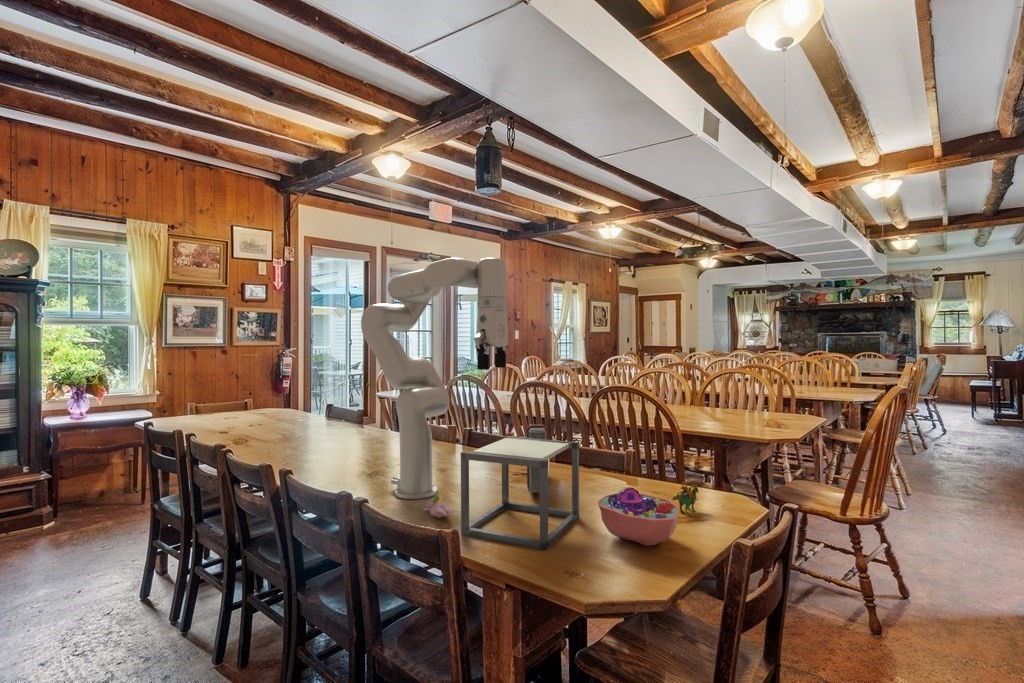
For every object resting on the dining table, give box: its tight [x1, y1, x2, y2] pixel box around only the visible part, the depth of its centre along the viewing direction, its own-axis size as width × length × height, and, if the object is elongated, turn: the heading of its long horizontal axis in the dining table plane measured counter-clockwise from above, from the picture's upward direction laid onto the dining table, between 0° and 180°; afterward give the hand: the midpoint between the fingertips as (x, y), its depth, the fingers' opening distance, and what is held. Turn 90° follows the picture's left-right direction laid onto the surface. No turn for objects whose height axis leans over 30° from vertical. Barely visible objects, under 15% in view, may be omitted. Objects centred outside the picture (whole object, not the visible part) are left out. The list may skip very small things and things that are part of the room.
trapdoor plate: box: [471, 438, 569, 461], centre depth 130 cm, size 18×19×1 cm
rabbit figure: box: [423, 493, 454, 519], centre depth 137 cm, size 6×6×15 cm
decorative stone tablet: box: [526, 424, 549, 493], centre depth 166 cm, size 19×6×30 cm
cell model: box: [597, 487, 680, 547], centre depth 121 cm, size 17×20×11 cm
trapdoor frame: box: [460, 435, 580, 551], centre depth 130 cm, size 22×23×20 cm
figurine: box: [671, 481, 699, 515], centre depth 139 cm, size 3×12×8 cm, turn 128°
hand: (492, 368), depth 141 cm, fingers open, 9 cm apart
